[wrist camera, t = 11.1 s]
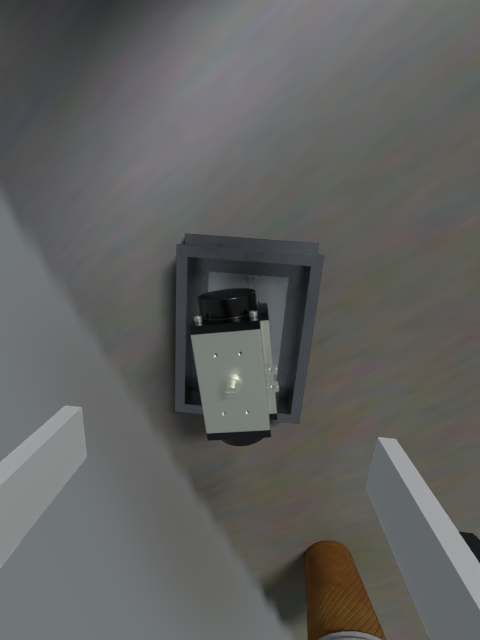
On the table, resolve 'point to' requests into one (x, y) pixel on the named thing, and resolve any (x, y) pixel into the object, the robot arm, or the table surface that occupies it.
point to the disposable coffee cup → (337, 596)
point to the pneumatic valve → (234, 366)
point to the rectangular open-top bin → (271, 287)
